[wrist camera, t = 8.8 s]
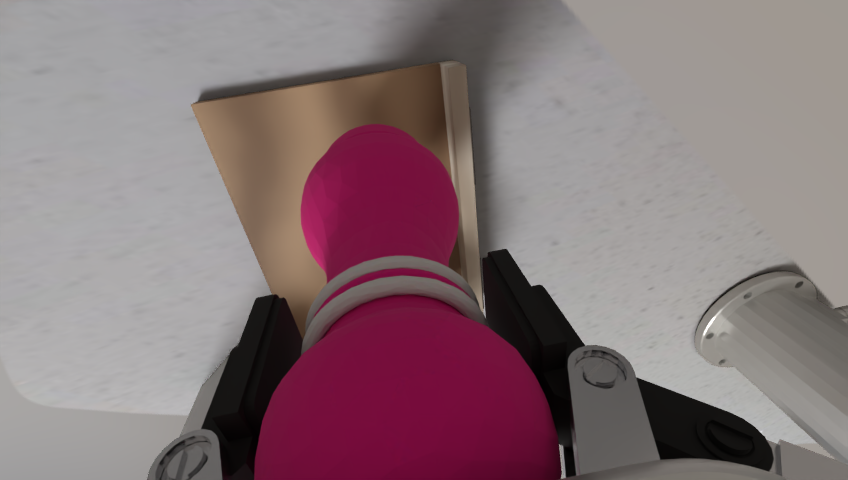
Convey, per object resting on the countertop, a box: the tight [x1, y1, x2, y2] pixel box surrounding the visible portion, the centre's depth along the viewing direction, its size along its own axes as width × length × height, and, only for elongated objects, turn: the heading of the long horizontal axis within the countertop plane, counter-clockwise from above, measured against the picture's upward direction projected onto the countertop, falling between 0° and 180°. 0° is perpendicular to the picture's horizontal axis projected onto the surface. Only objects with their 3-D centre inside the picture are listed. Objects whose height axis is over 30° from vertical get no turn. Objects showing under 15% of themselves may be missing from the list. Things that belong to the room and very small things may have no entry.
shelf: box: [191, 60, 484, 339], centre depth 27 cm, size 16×20×4 cm
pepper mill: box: [254, 124, 562, 480], centre depth 13 cm, size 7×7×20 cm
